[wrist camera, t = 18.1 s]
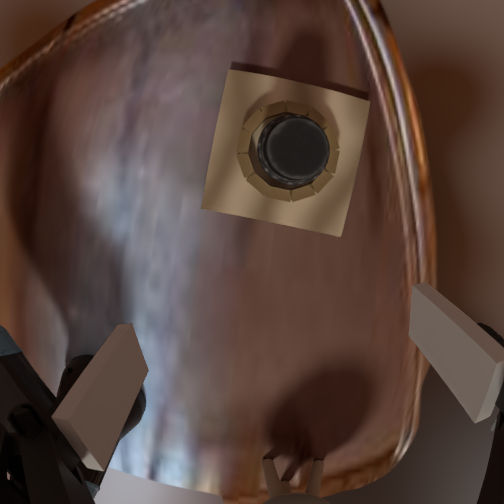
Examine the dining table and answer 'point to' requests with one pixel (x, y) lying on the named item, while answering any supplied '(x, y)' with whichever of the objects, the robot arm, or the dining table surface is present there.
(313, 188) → the square socket plate
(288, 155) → the pill bottle
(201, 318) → the dining table surface
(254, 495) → the dining table surface
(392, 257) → the dining table surface
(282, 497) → the planter
